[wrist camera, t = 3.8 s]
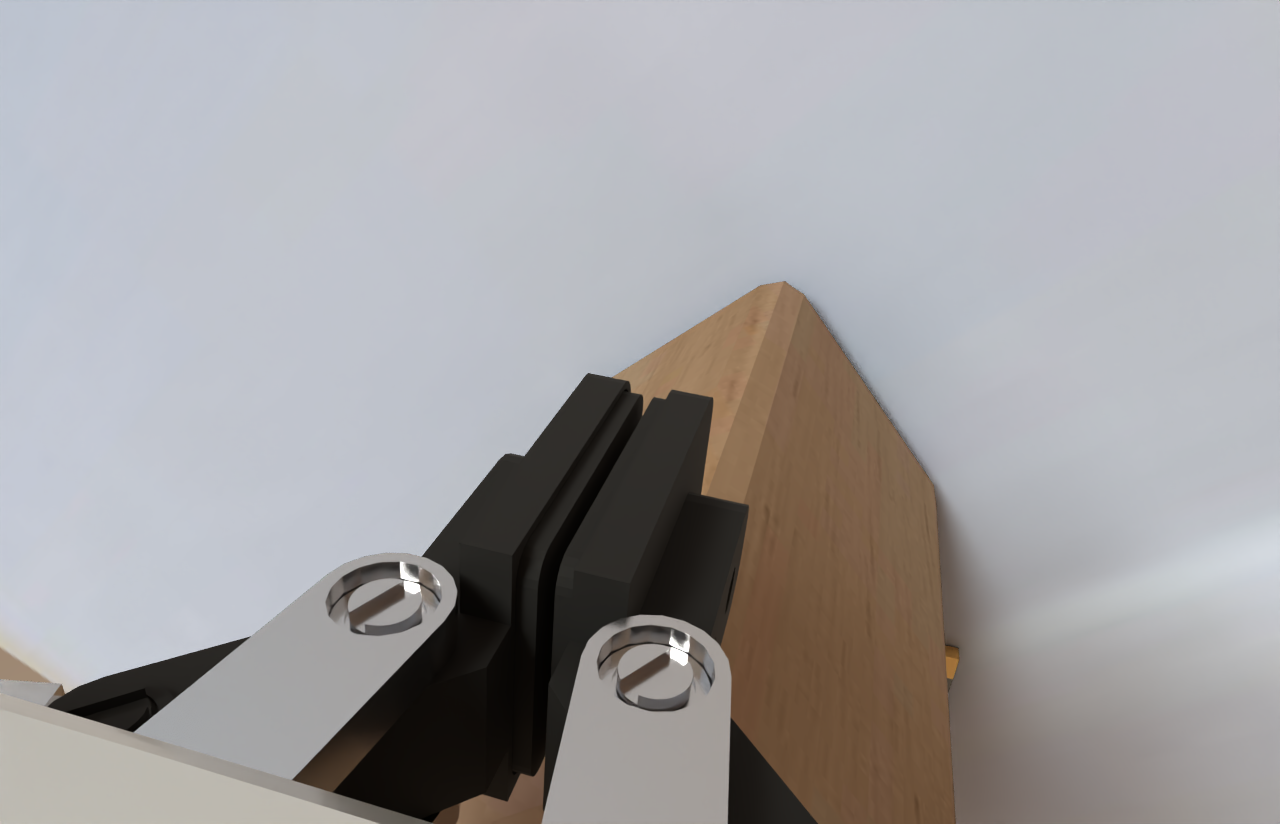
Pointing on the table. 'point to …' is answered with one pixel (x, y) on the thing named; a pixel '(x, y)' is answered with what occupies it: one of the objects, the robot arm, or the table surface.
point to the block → (813, 570)
